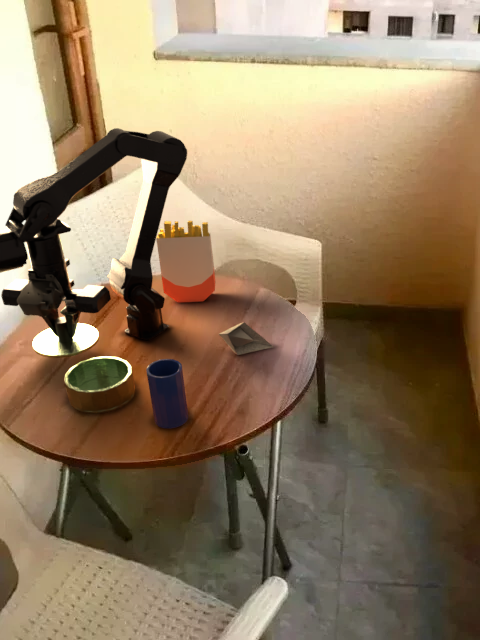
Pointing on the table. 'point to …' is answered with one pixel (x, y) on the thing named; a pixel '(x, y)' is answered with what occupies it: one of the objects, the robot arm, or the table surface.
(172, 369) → the cup
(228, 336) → the paper boat
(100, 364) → the pot
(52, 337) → the lid
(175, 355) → the table surface
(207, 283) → the french fries container
